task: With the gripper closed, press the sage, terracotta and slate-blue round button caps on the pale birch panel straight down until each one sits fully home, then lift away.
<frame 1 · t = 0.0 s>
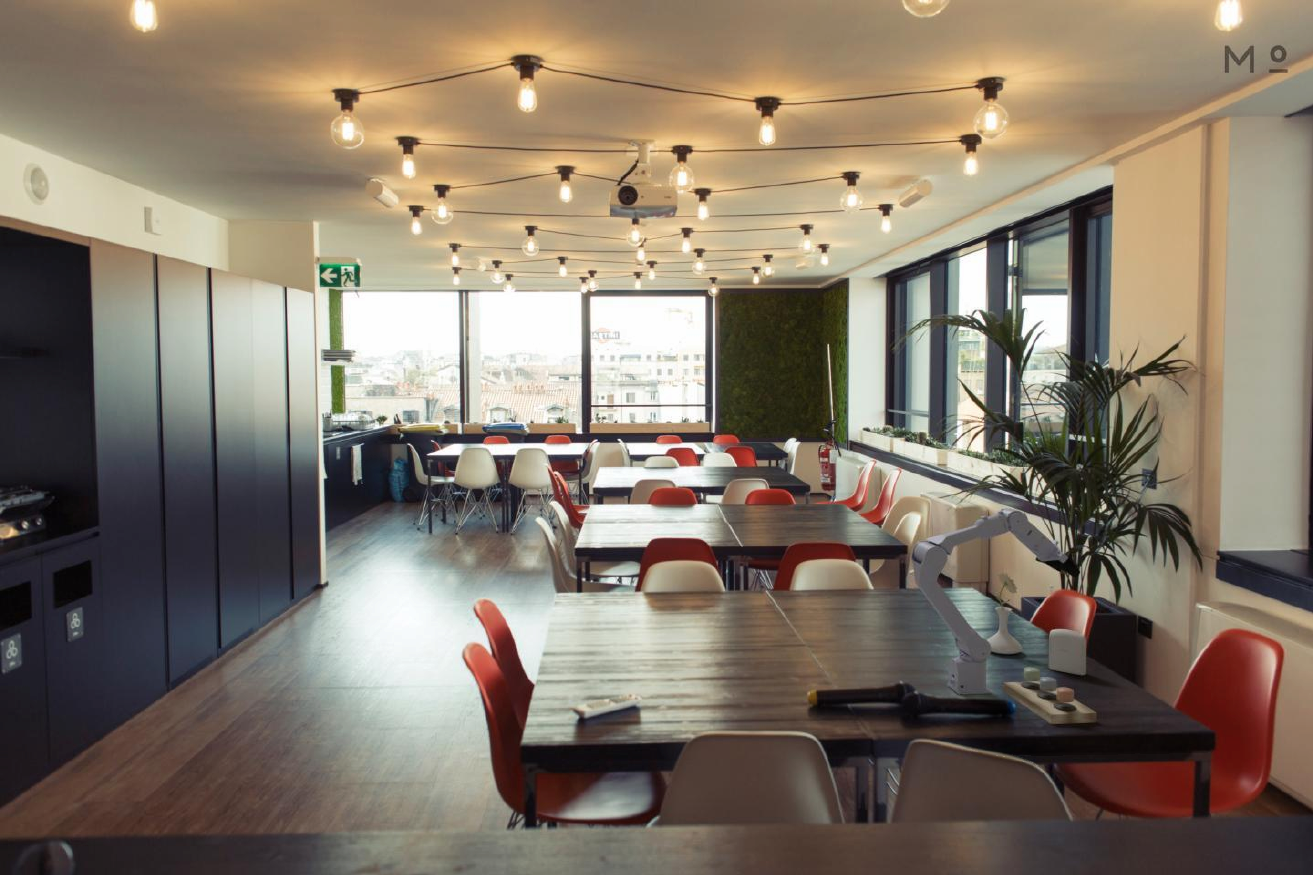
hand: (1069, 571, 246), 32 cm above the table, tool tilted 50°, fingers open, 7 cm apart
button sage: (1031, 674, 240), point 6 cm above the table, slide at 0.0 cm
flower in vase: (1002, 651, 281), on the table
button panel: (1047, 705, 233), on the table
button slate: (1047, 684, 232), point 6 cm above the table, slide at 0.0 cm
button terracotta: (1065, 694, 224), point 6 cm above the table, slide at 0.0 cm
photo printer: (1066, 671, 261), on the table
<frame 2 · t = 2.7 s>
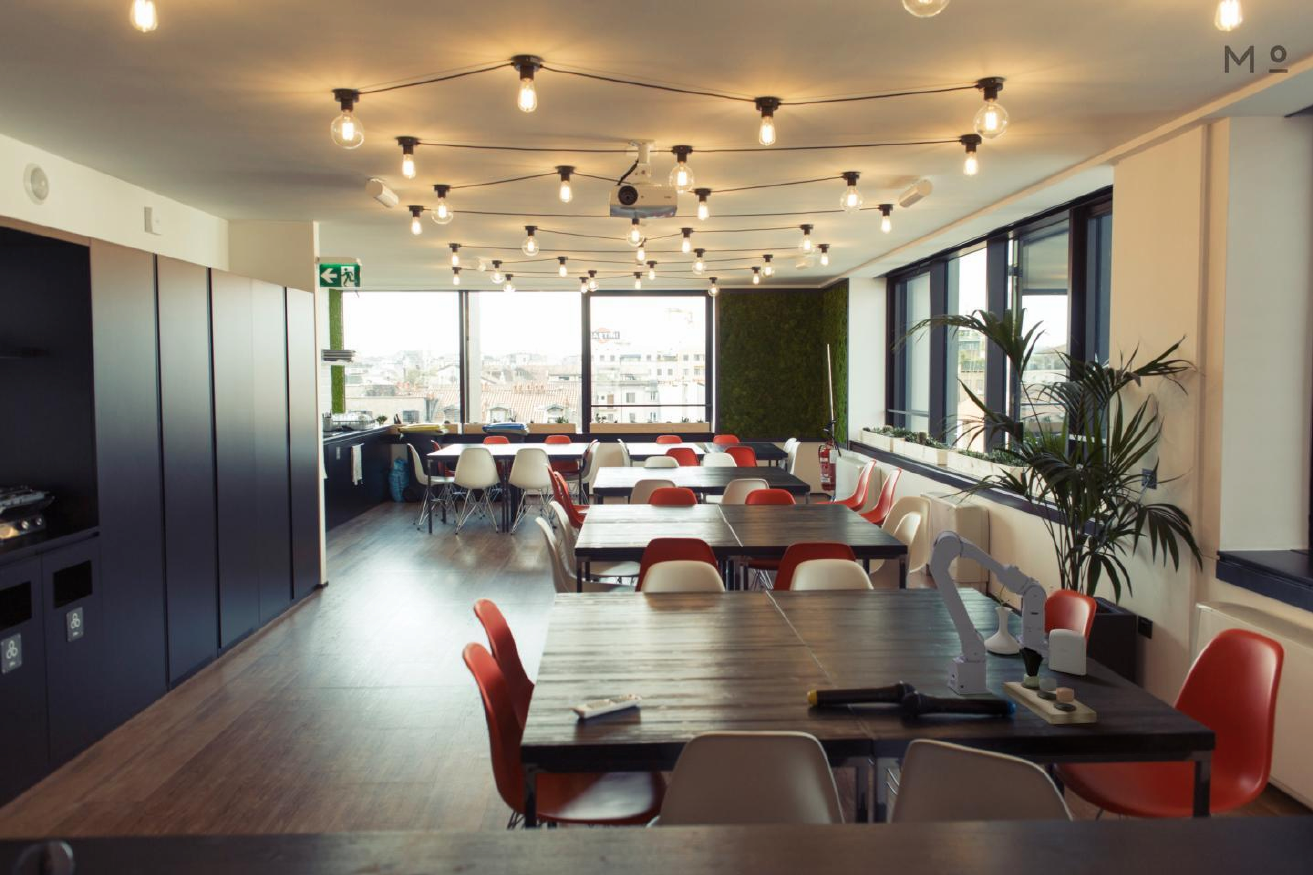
hand: (1032, 675, 240), 5 cm above the table, tool pointing down, fingers closed, pressing on button sage
button sage: (1031, 679, 240), point 4 cm above the table, slide at 1.6 cm, touching gripper
everything else where it was.
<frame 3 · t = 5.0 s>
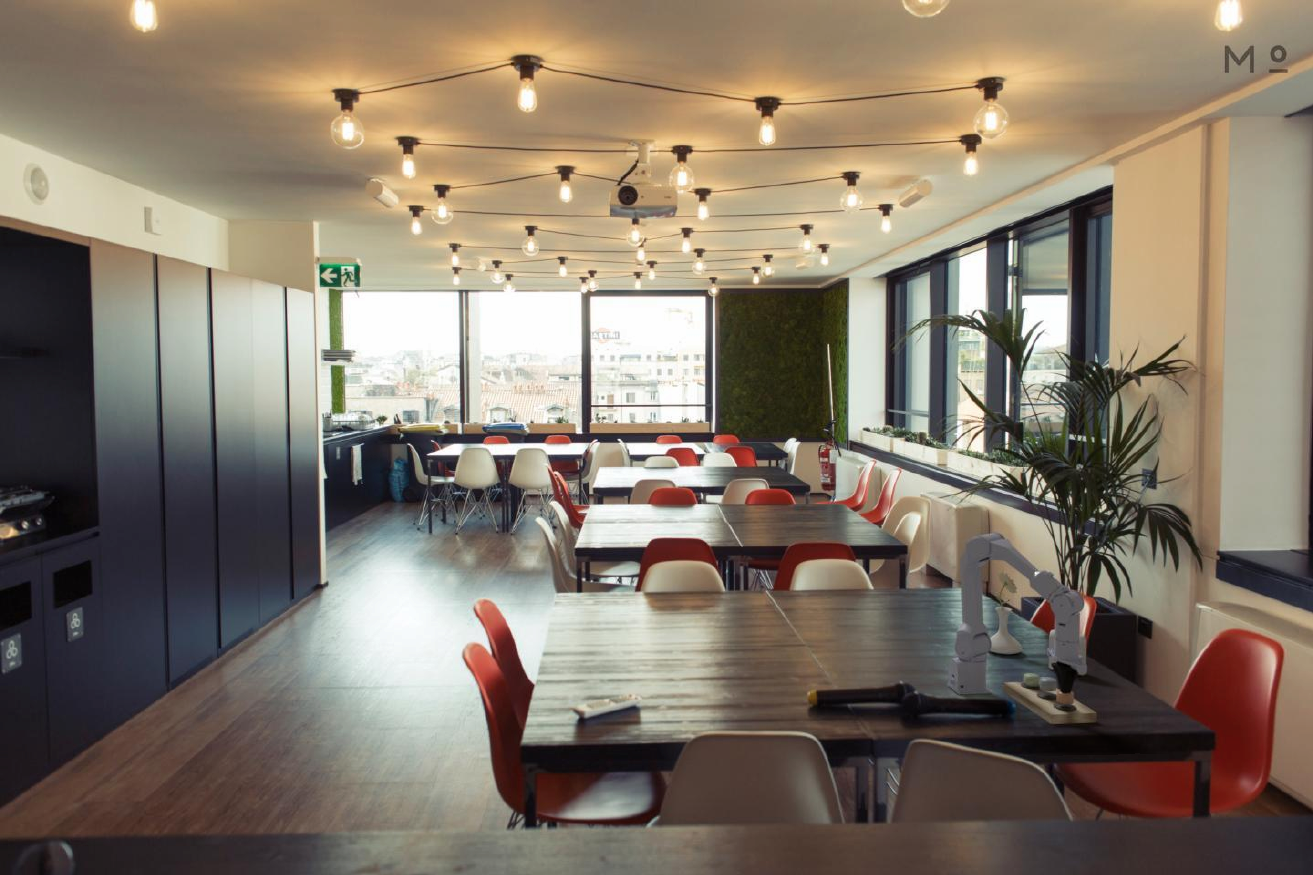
hand: (1065, 692, 224), 6 cm above the table, tool pointing down, fingers closed, pressing on button terracotta
button sage: (1031, 679, 240), point 4 cm above the table, slide at 1.6 cm
button terracotta: (1065, 696, 224), point 5 cm above the table, slide at 0.5 cm, touching gripper
everything else where it was.
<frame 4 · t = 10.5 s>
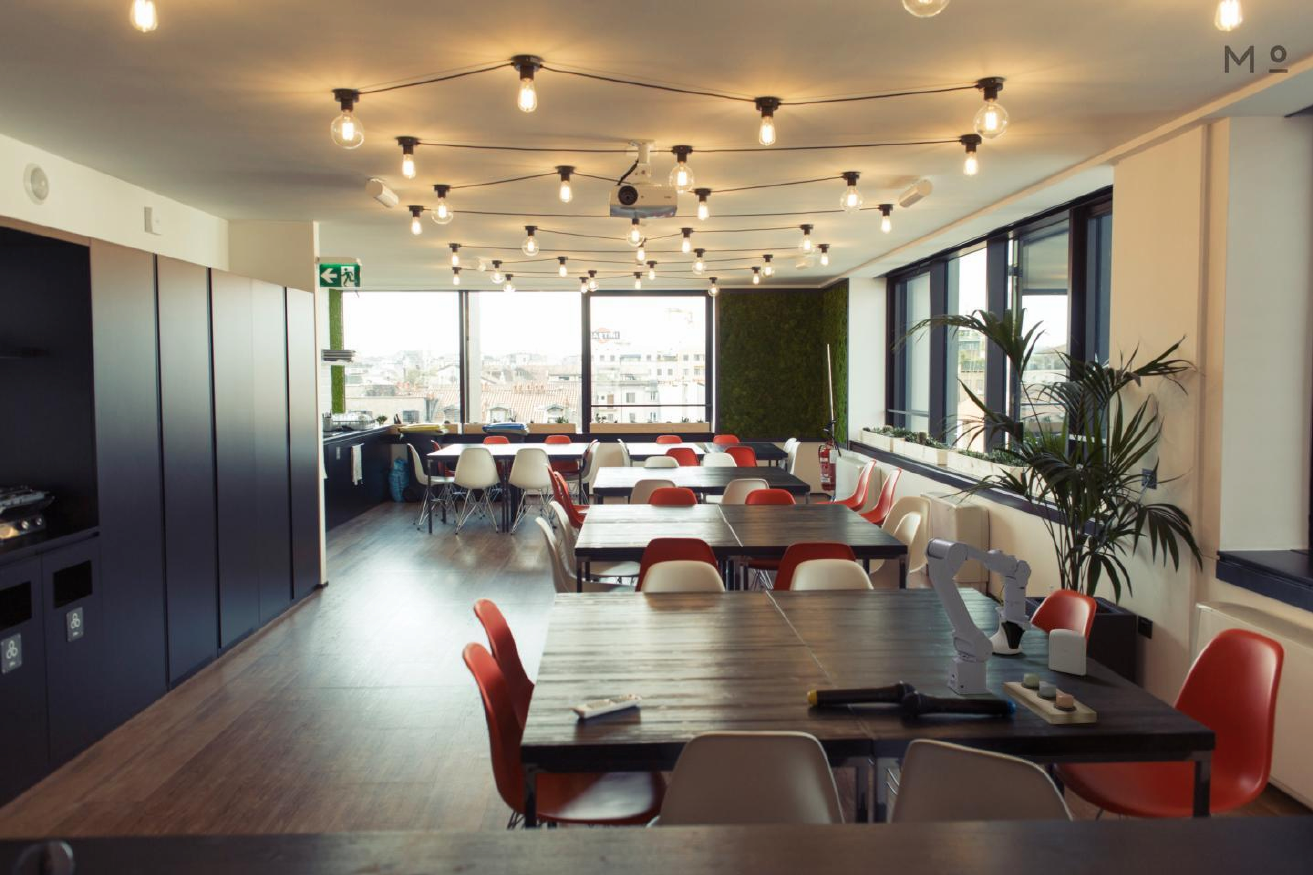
hand: (1013, 648, 250), 10 cm above the table, tool pointing down, fingers closed
button slate: (1047, 689, 232), point 4 cm above the table, slide at 1.6 cm
button terracotta: (1065, 700, 224), point 4 cm above the table, slide at 1.6 cm
everything else where it was.
at the end: button sage slide at 1.6 cm; button terracotta slide at 1.6 cm; button slate slide at 1.6 cm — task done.
